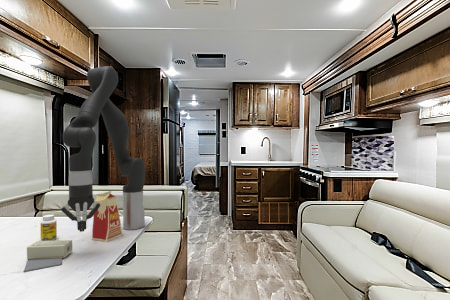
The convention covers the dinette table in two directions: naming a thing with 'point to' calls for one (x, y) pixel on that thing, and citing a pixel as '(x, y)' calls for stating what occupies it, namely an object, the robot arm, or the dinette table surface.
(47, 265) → the mat
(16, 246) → the dinette table surface
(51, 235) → the supplement bottle
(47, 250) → the skincare box
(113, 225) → the milk carton
